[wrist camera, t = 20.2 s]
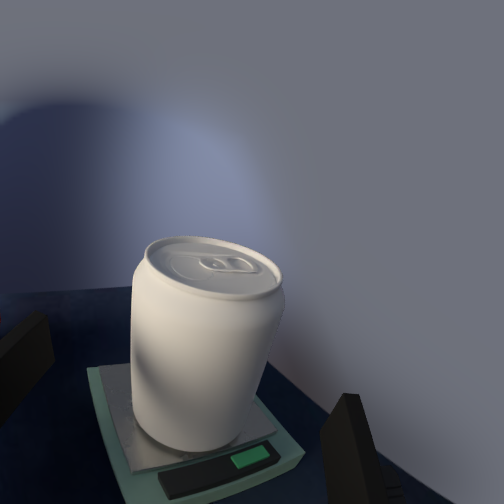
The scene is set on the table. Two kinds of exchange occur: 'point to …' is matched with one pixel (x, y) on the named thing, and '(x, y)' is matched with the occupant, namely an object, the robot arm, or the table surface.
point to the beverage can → (200, 338)
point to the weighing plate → (148, 449)
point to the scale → (197, 463)
